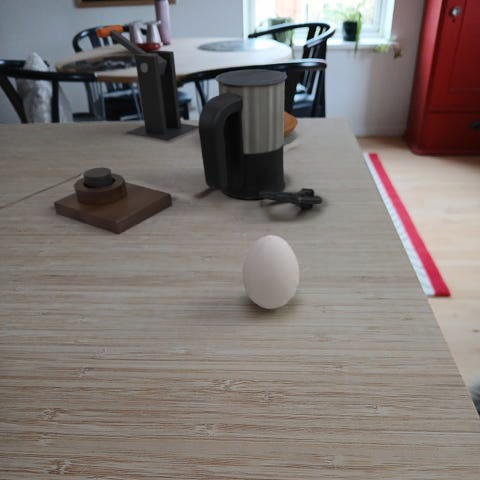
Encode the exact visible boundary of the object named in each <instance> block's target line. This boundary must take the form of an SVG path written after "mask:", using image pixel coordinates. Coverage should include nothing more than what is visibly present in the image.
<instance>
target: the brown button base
mask: <svg viewBox="0 0 480 480" xmlns="http://www.w3.org/2000/svg"><path fill="white" fill-rule="evenodd" d="M111 173H112V178H113V184H112V185H109V186H107V187H102V188H87V187H86V184H85V180H84V177H81V178H78V179H77V180H76V182H75V183H74V184H73V188H74V192H73V193H71V194H69V195H66V196H64V197H62V198H60V199H57V200H55V201H53V206H54V209H55V213H56V214H57V215H59V216H63V217H65V218H68V219H72V220H75V221H78V222H81V223H83V224H87V225H90V226H92V227H96V228H99V229H102V230H105V231H107V232H111V233H113V234H116V235H121V234H122V233H124V232H126V231H128V230H130V229H131V228H134V227H136V226H137V225H139V224H140V223H143V222H144V221H146V220H148V219H150V218H152V217H153V216H155V215H158V214H159V213H160V212H163V211H164V210H166V209H168V208H170V207H172V206H173V200H172V194H171V193H170V192H165V191H162V190H158V189H153V188H150V187H146V186H143V185H138V184H135V183H130V182H126V180H125V179H126V178H124V177H123V175H122V174H121V175H120V174H117V173H114V172H111Z"/></svg>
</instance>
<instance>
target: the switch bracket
mask: <svg viewBox="0 0 480 480" xmlns="http://www.w3.org/2000/svg"><path fill="white" fill-rule="evenodd" d="M152 53H156V54H158V55H159V56H160V57H162V58H163V59H165V60H166V61H167V64H166V69H165V74H164V75H161V76H160V71H159V63H158V56H156V55H145V54H136V55H134V60H135V67H136V74H137V81H138V88H139V94H140V101H141V109H142V115H143V122H144V125H142V126H140V127H137V128H135V129H132V130H129V131H127V134H131V135H136V136H142V137H146V138H151V139H157V140H161V141H167V142H169V141H171V140H173V139H176V138H178V137H180V136H183V135H185V134H187V133H190V132H192V131H194V130H197V129H199V125H195V124H193V125H192V124H187V123H182V121H181V119H182V118H181V110H180V101H179V100H180V99H179V91H178V82H177V73H176V72H177V71H176V63H175V62H176V61H175V54H174V51H170V50H158V49H153V50H150V54H152Z"/></svg>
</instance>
